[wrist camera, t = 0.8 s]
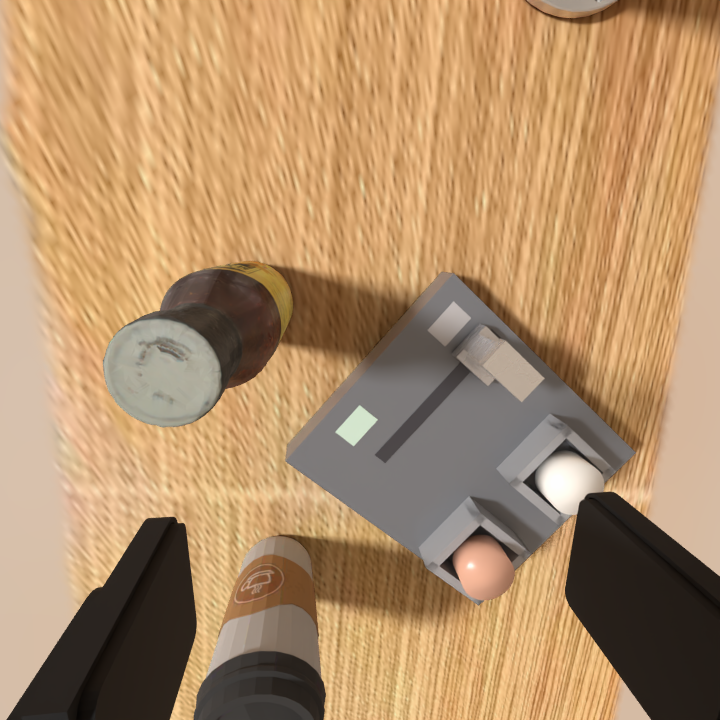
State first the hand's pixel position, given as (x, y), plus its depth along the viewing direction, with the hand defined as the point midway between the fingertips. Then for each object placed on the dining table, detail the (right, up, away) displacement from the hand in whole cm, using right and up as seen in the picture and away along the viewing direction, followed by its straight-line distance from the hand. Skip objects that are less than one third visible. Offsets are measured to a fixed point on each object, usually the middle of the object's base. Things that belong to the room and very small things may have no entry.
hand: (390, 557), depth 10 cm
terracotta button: (+9, -12, +26) cm, 30 cm away
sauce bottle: (-9, +9, +24) cm, 27 cm away
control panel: (+8, -3, +29) cm, 30 cm away
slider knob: (+9, +5, +23) cm, 25 cm away
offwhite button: (+16, -5, +25) cm, 30 cm away
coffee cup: (-9, -15, +30) cm, 34 cm away
